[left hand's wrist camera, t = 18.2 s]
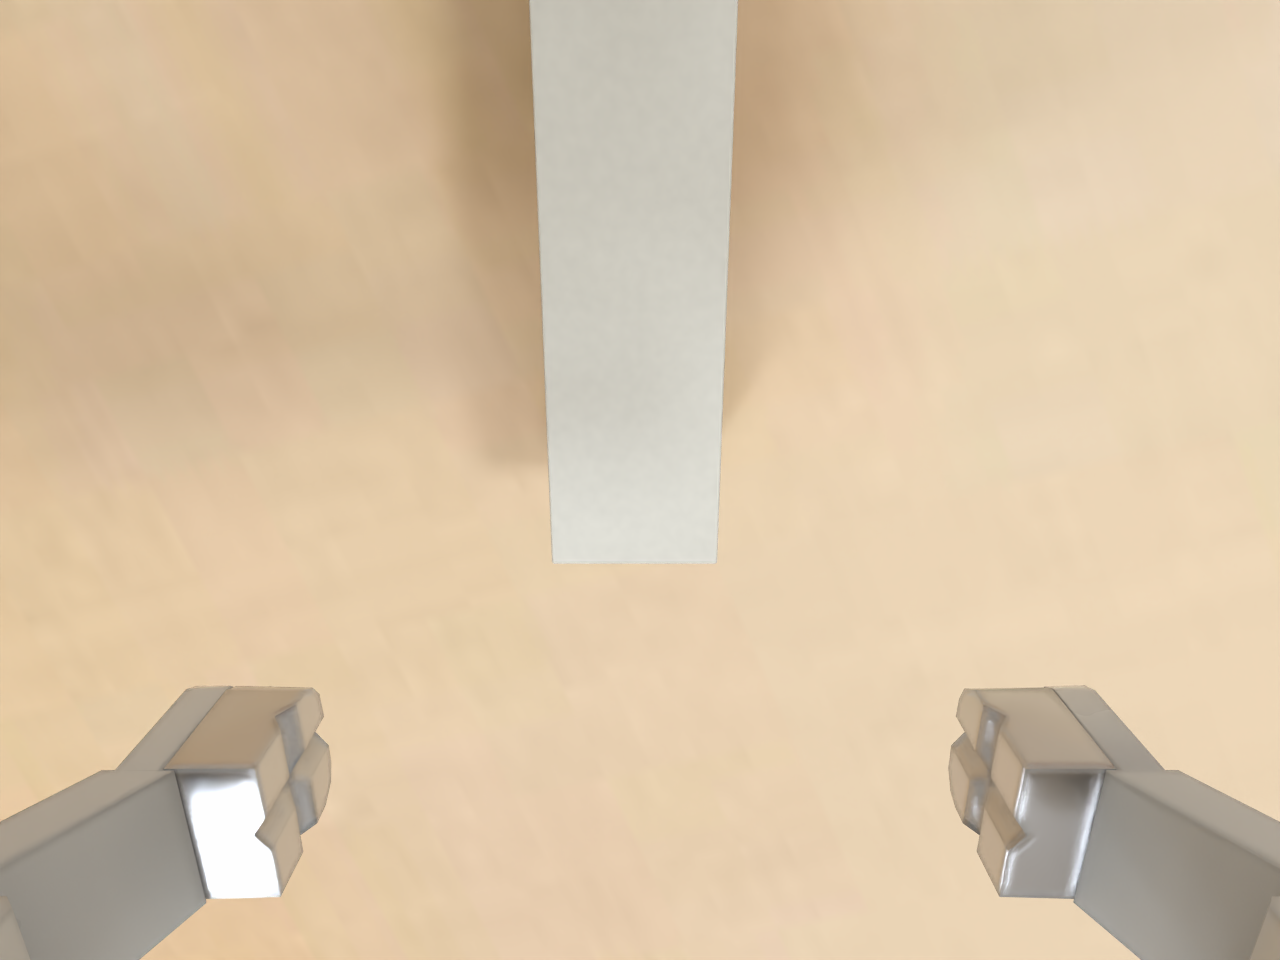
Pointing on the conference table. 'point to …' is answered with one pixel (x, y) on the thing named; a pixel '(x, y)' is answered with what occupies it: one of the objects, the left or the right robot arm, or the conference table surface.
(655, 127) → the bar
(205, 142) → the conference table surface
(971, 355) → the conference table surface
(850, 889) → the conference table surface
